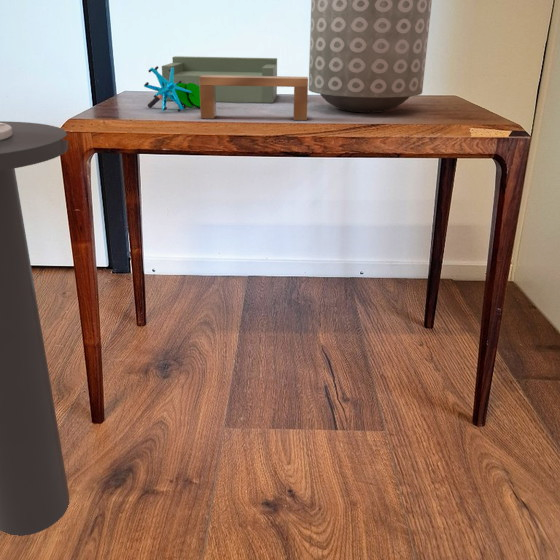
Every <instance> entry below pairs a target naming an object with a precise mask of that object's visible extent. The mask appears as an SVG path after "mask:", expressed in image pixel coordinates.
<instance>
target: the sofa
mask: <svg viewBox="0 0 560 560" xmlns="http://www.w3.org/2000/svg"><path fill="white" fill-rule="evenodd" d="M171 58H172V62H170V63H167V64H164V65H161V75H162V76H163V77H164V78H165V79H166V80H167V81H168V82H169V78H170V72H169V70H170V69H171V68H172V67H173V68H174V81H173V82H174V83H175V84H176V83H178V82H179V81H182V83H185V84H188V83H194V84H196V85H198V86H199V87H200V82H199V77H200V76H202V75H227V76H278V57H238V56H237V57H235V56H233V57H232V56H229V57H228V56H185V55H183V56H181V55H178V56H177V55H174V56H172V57H171ZM164 85H165V84H164ZM165 86H166V85H165ZM215 87H216V103H252V104H253V103H254V104H256V103H257V104H274V102H275V100H276V98H277V96H278V87H273V86H215ZM170 93H171V91H170ZM171 94H172V93H171ZM167 102H174V101H173V100H171V99H170V98H169V97H168V96H167Z"/></svg>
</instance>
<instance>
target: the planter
mask: <svg viewBox="0 0 560 560" xmlns="http://www.w3.org/2000/svg"><path fill="white" fill-rule="evenodd" d="M432 3H433V0H310V25H309V26H310V31H309V59H308V60H309V62H308V65H309V66H308V92H311V93H314V94H318V95H320V96H321V97H322V99H323V100H325V102H327V103H328V104H330V105H331V106H333V107H335V108H337V109H339V110H342V111H346V112H352V113H382V112H387V111H390V110H393V109H394V108H397V107H399V106H401V105H402V104H404V103H405V102H406V101H407V100H408V99H409V98H410V97H417V96H419V95H422V94H423V88H424V80H425V79H424V78H425V70H426V60H427V51H428V42H429V34H430V33H429V31H430V24H431V23H430V22H431V13H432Z"/></svg>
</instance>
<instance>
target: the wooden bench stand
mask: <svg viewBox="0 0 560 560" xmlns="http://www.w3.org/2000/svg"><path fill="white" fill-rule="evenodd" d="M199 82H200V107H201V108H200V119H203V120H204V119H205V120H206V119H207V120H208V119H209V120H210V119H211V120H215V118H216V117H217V102H216V87H215V86H273V87H277V88H281V87H282V88H285V87H286V88H293V121H307V120H308V99H309V98H308V97H309V95H308V94H309V76H287V75H286V76H285V75H283V76H281V75H280V76H279V75H277V76H227V75H202V76H200V77H199Z"/></svg>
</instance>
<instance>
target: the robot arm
mask: <svg viewBox="0 0 560 560" xmlns="http://www.w3.org/2000/svg"><path fill="white" fill-rule="evenodd" d="M12 134H13V133H12V127H11V126H10V125H8V124H4V123H0V141H1V140H4V139H7V138H9V137H11V136H12Z"/></svg>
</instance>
